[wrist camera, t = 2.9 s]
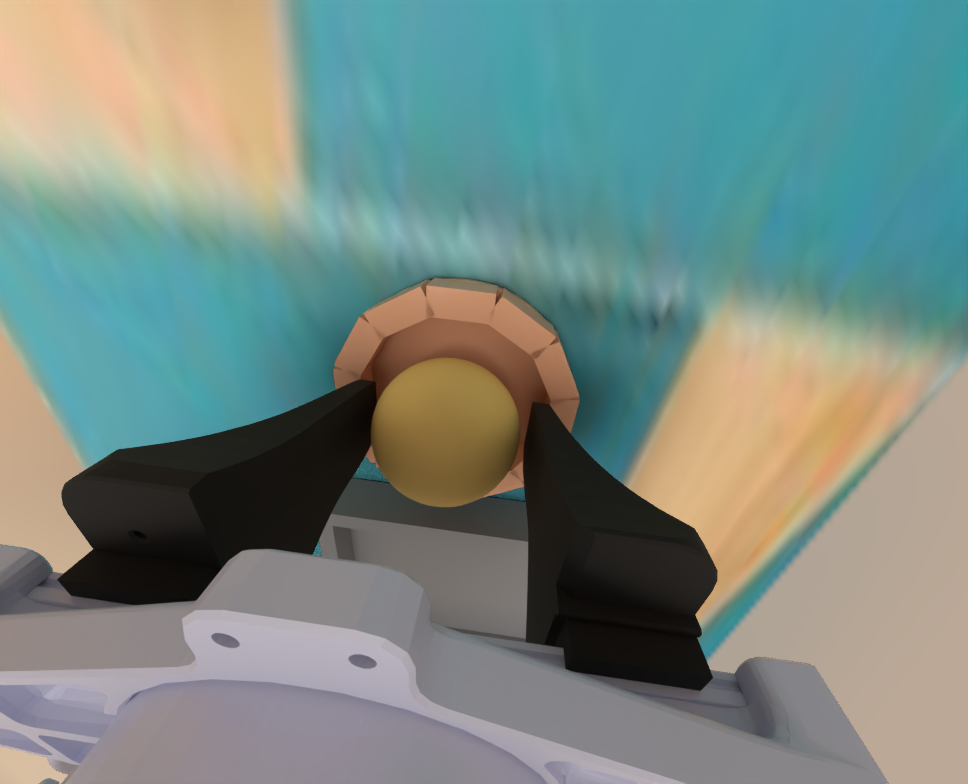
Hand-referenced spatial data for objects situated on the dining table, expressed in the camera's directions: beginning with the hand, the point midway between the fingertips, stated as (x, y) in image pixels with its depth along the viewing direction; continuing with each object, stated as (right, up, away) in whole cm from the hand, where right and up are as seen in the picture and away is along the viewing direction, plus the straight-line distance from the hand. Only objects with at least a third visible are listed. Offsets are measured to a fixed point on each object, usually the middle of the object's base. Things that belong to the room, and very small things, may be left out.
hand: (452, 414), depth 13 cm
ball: (0, +1, +1) cm, 2 cm away
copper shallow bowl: (0, +1, +2) cm, 2 cm away
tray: (0, -9, +8) cm, 12 cm away
